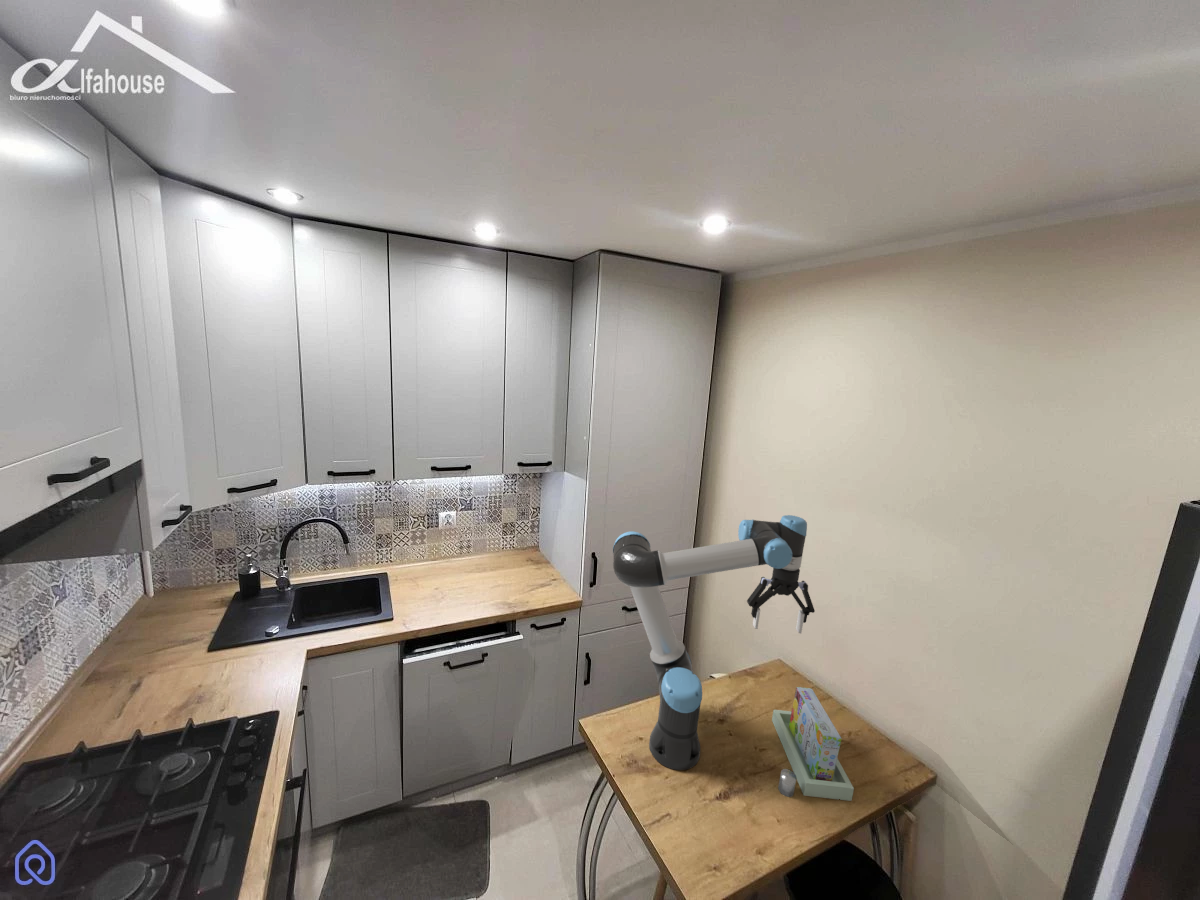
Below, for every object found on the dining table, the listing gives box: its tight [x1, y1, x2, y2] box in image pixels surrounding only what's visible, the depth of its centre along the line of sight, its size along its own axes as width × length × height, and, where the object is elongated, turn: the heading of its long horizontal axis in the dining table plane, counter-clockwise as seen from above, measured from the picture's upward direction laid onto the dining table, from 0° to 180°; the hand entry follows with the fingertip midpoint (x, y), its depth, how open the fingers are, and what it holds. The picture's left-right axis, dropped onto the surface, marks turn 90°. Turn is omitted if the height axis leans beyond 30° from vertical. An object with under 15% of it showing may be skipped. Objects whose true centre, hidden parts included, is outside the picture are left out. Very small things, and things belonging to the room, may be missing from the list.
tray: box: [771, 709, 855, 802], centre depth 142 cm, size 13×28×4 cm, turn 177°
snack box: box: [789, 686, 842, 781], centre depth 140 cm, size 21×6×15 cm, turn 177°
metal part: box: [777, 768, 797, 798], centre depth 129 cm, size 4×4×5 cm
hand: (776, 628), depth 147 cm, fingers open, 13 cm apart
